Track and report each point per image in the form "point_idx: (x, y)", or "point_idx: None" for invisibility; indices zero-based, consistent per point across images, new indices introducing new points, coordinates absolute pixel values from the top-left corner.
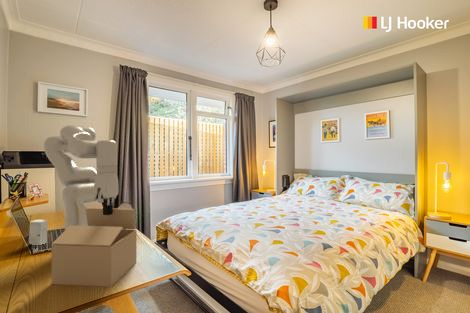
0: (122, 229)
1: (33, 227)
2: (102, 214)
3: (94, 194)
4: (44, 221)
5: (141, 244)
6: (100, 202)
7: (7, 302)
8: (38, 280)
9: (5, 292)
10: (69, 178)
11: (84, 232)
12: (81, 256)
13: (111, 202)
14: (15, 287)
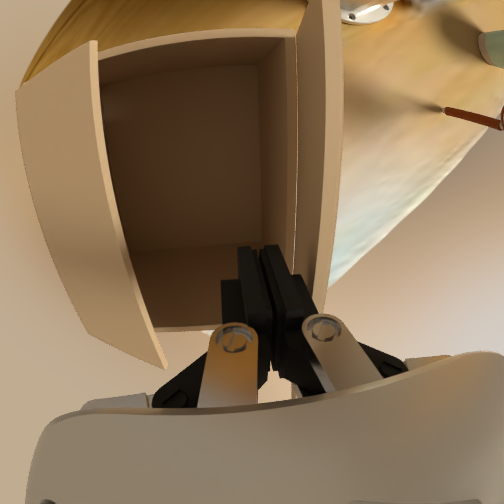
0: (292, 263)
1: None
2: (310, 180)
3: (34, 486)
4: None
5: (402, 189)
6: (131, 400)
7: (28, 72)
8: (112, 27)
9: (58, 19)
10: None
11: (71, 202)
12: None
13: (296, 392)
14: (77, 13)
